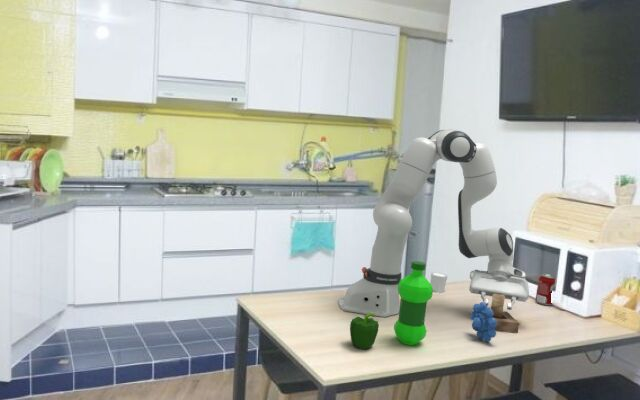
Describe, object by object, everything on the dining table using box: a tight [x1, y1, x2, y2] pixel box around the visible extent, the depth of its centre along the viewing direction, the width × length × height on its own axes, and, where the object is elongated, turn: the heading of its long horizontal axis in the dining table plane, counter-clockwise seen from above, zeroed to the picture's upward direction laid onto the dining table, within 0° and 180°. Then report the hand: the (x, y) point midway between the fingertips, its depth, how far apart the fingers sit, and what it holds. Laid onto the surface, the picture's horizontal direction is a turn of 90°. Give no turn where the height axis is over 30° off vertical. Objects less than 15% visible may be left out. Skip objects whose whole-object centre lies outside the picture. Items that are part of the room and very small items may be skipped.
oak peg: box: [490, 293, 506, 319], centre depth 193 cm, size 4×4×11 cm
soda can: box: [535, 273, 556, 307], centre depth 227 cm, size 7×7×12 cm
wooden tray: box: [494, 310, 520, 334], centre depth 193 cm, size 12×12×4 cm
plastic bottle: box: [393, 260, 434, 346], centre depth 167 cm, size 10×10×25 cm
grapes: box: [470, 301, 497, 343], centre depth 177 cm, size 12×7×12 cm, turn 25°
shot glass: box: [430, 272, 448, 293], centre depth 230 cm, size 7×7×7 cm
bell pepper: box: [349, 313, 380, 350], centre depth 161 cm, size 8×8×10 cm
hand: (497, 306), depth 192 cm, fingers open, 7 cm apart
